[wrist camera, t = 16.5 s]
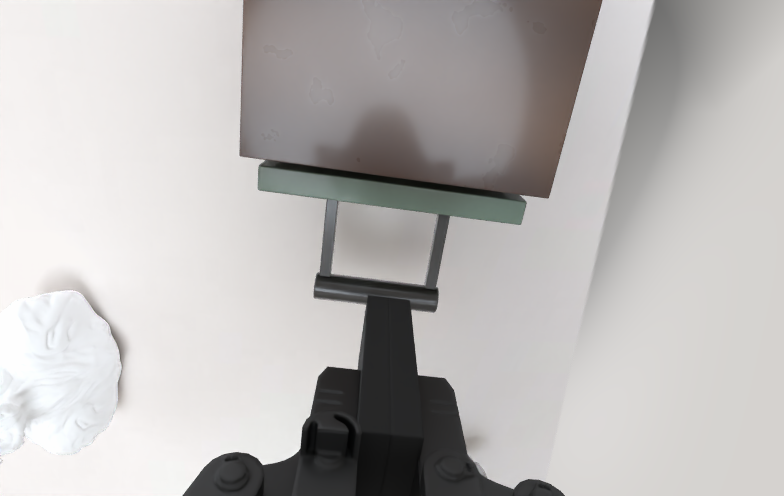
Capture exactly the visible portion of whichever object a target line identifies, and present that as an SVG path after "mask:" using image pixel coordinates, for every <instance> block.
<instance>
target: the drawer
mask: <svg viewBox="0 0 784 496" xmlns="http://www.w3.org/2000/svg"><path fill="white" fill-rule="evenodd" d="M258 190H260V191H268V192H275V193H283V194H290V195H298V196H305V197H313V198H320V199H327V203H326V213H325V224H324V234H323V245H322V255H321V266H320V273H319V272H318V273H317V274H316V279H315V285H314V298H315V299H323V300H331V301H340V302H348V303H357V304H365V305H366V304H367V296H368V295H371V296H380V297H388V298H396V299H405V300H410V306H411V310H415V311H424V312H432V313H434V312H435V311H436V309H437V305H438V296H439V292H438V287H436V284H437V279H438V274H439V269H440V264H441V259H442V253H443V248H444V243H445V238H446V233H447V228H448V223H449V218H450V216H456V217H463V218H471V219H479V220H486V221H494V222H501V223H509V224H516V225H521V223H522V219H523V215H524V211H525V207H526V201H525V200H524V199H523V198H522V197H521V196H520V195H519V194H512V193H504V192H497V191H490V190H482V189H475V188H468V187H460V186H453V185H446V184H439V183H431V182H424V181H417V180H409V179H402V178H395V177H387V176H380V175H373V174H366V173H358V172H351V171H344V170H336V169H329V168H322V167H314V166H307V165H300V164H293V163H285V162H278V161H271V160H265V161H264V162H263V163H262V164H260V165H259V169H258ZM339 201H343V202H351V203H358V204H366V205H373V206H381V207H388V208H396V209H403V210H411V211H418V212H426V213H433V214H437V220H436V225H435V230H434V236H433V241H432V247H431V252H430V257H429V263H428V268H427V274H426V279H425V285H417V284H409V283H401V282H393V281H385V280H376V279H368V278H360V277H352V276H344V275H336V274H331V270H332V261H333V251H334V241H335V232H336V222H337V213H338V203H339Z"/></svg>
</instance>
